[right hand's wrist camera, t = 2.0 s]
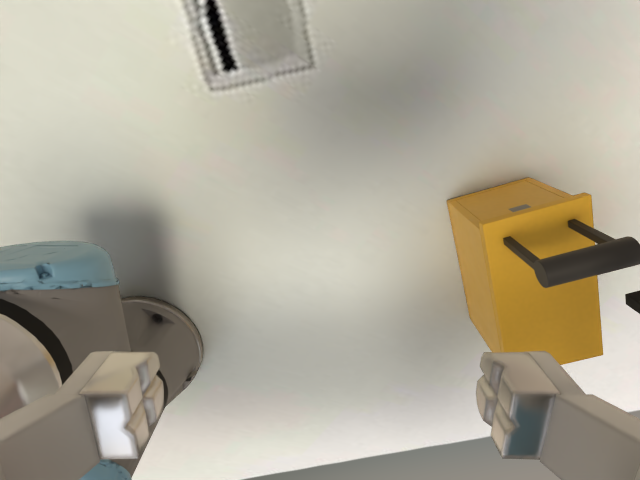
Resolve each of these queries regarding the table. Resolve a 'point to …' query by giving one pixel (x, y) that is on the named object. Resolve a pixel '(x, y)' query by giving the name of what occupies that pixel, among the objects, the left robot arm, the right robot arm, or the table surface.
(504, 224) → the lid
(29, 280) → the left robot arm
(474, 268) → the chest
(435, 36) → the table surface
